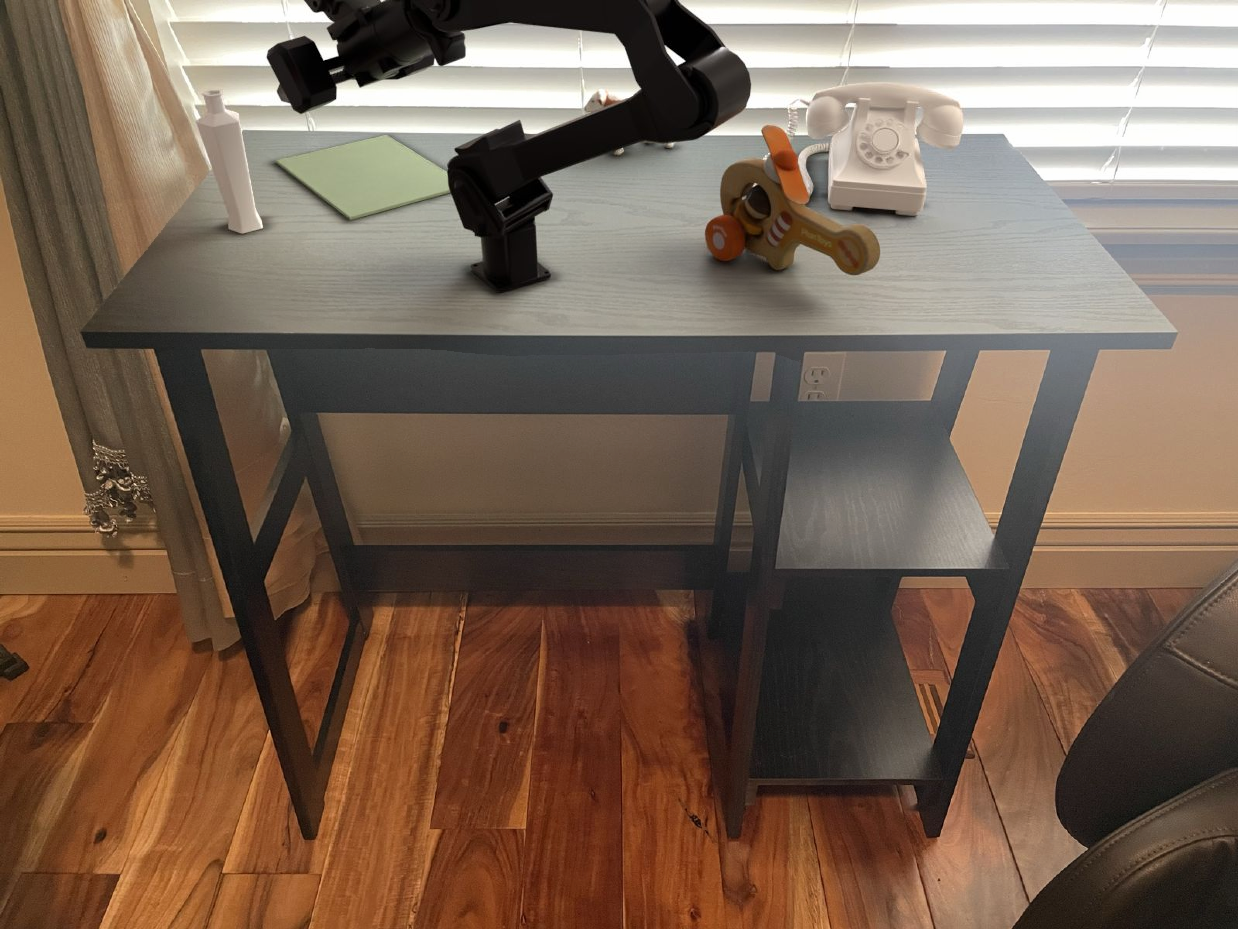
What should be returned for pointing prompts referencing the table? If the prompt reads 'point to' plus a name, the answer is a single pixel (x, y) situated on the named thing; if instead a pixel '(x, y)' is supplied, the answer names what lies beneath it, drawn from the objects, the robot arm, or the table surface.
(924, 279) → the table surface
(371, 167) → the mat
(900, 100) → the telephone
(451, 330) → the table surface
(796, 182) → the toy helicopter
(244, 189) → the perfume bottle
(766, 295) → the table surface
